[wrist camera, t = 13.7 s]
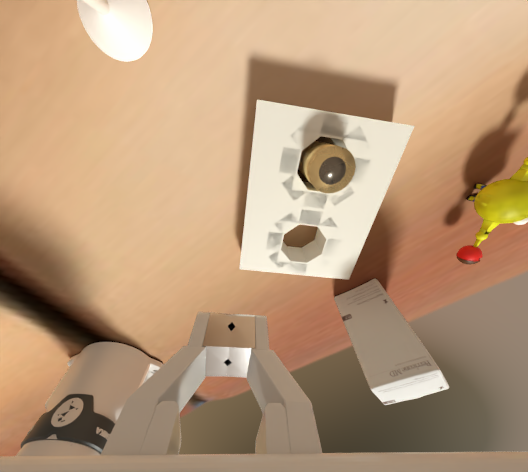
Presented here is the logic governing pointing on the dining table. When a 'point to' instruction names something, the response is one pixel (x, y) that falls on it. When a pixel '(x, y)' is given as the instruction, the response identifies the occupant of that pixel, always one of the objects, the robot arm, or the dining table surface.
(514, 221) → the toy figure
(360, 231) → the jig
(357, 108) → the dining table surface
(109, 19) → the champagne flute
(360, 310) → the skincare box
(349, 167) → the bushing
